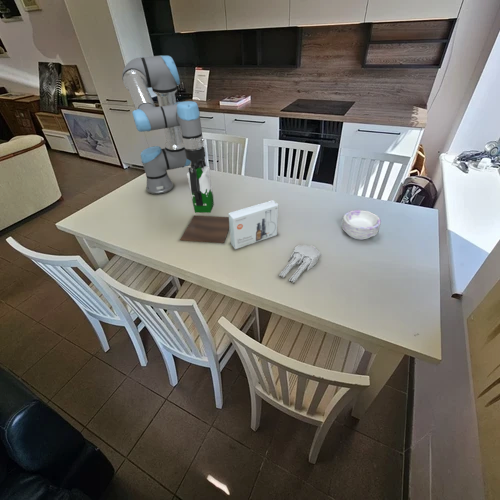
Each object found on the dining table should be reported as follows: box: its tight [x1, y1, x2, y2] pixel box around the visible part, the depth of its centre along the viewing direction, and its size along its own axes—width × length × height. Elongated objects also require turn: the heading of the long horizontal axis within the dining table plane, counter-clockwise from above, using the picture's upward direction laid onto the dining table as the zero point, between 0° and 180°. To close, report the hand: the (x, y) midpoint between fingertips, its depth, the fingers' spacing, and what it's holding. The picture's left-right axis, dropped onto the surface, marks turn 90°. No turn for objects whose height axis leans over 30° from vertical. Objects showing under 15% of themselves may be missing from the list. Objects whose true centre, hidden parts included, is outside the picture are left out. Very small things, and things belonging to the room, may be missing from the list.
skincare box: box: [227, 199, 280, 250], centre depth 118 cm, size 21×6×16 cm, turn 117°
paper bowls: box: [341, 209, 382, 240], centre depth 120 cm, size 15×15×8 cm
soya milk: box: [186, 165, 215, 214], centre depth 117 cm, size 9×9×20 cm
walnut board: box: [179, 215, 230, 244], centre depth 130 cm, size 20×20×1 cm
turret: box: [278, 244, 322, 284], centre depth 107 cm, size 10×20×5 cm, turn 141°
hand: (203, 199), depth 121 cm, fingers closed on soya milk, 9 cm apart
